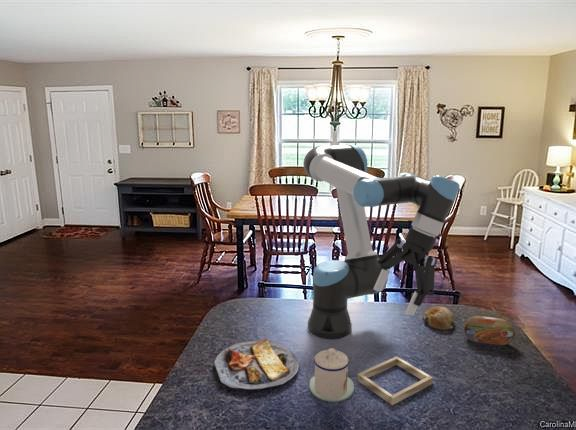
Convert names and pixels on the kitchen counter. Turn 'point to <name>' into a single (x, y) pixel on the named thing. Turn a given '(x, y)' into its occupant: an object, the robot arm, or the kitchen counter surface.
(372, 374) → the wooden frame
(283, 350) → the food plate
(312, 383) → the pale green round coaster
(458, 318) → the kitchen counter surface
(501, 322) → the tin
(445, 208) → the robot arm
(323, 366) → the teacup with lid
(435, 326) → the bread roll
